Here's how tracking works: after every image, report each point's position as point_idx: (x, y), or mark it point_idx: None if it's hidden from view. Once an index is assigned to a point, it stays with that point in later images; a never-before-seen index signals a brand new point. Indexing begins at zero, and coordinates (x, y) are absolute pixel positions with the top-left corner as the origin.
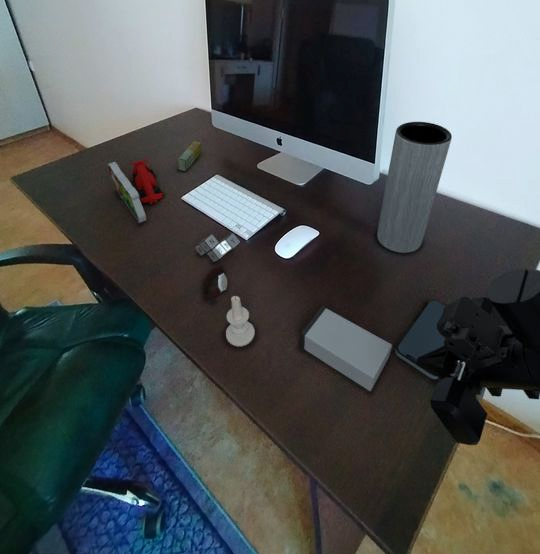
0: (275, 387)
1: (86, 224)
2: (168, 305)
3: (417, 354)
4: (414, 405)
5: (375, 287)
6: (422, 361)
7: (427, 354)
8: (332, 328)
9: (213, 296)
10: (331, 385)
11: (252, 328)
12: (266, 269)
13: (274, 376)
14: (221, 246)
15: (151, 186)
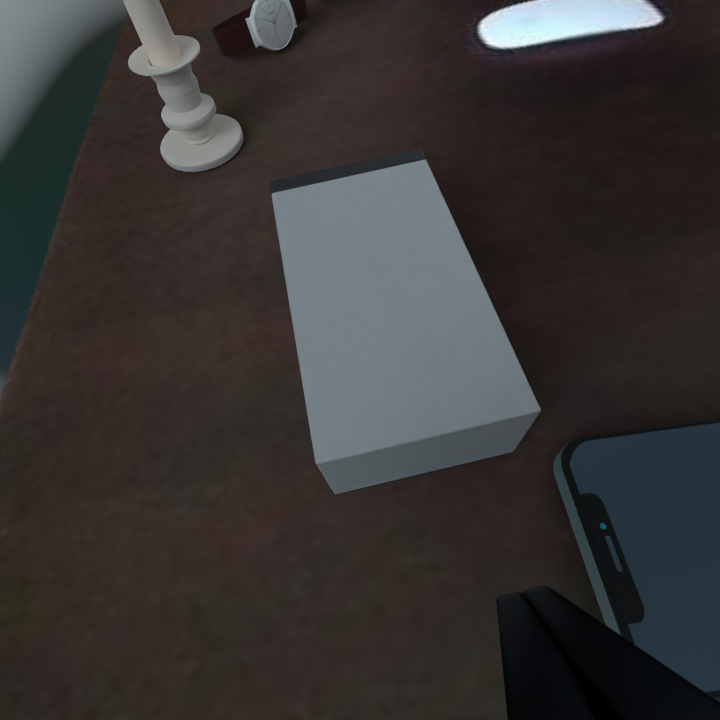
0: (133, 292)
1: None
2: None
3: (647, 532)
4: (436, 682)
5: (710, 226)
6: (514, 666)
7: (628, 664)
8: (375, 220)
9: (224, 41)
10: (251, 386)
11: (231, 143)
12: (412, 50)
13: (159, 268)
14: None
15: None
